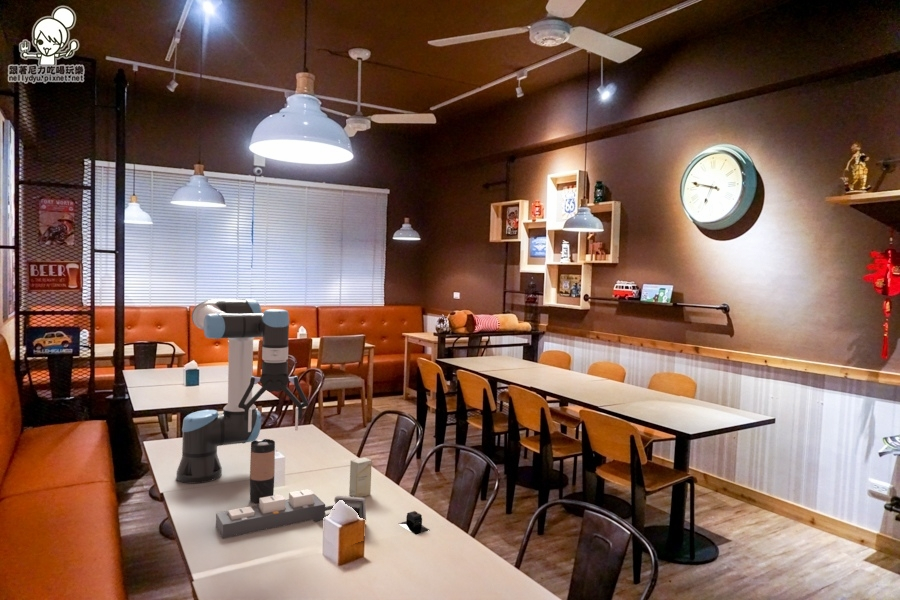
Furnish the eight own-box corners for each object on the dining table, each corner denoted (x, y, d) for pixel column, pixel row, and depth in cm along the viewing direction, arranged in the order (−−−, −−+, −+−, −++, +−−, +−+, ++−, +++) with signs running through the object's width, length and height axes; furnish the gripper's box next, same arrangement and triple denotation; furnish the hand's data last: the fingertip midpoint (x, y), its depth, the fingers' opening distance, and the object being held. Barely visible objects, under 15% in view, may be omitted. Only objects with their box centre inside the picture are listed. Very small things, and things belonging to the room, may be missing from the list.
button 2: (259, 514, 174) (259, 497, 174) (280, 510, 177) (280, 493, 177) (263, 519, 170) (263, 502, 170) (284, 515, 174) (285, 498, 173)
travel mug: (266, 508, 185) (267, 446, 184) (244, 505, 187) (245, 444, 186) (278, 499, 193) (279, 440, 192) (257, 496, 194) (258, 437, 193)
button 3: (288, 508, 179) (289, 492, 179) (308, 504, 182) (309, 488, 182) (293, 513, 175) (293, 497, 175) (313, 509, 179) (314, 493, 178)
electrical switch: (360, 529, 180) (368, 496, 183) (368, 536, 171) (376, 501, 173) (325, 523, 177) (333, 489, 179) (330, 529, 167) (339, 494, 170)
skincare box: (356, 498, 196) (357, 463, 195) (348, 494, 199) (349, 460, 198) (371, 494, 200) (372, 459, 200) (363, 490, 203) (364, 456, 203)
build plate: (435, 533, 174) (436, 518, 174) (416, 539, 169) (416, 524, 169) (411, 518, 183) (411, 504, 183) (392, 524, 179) (392, 509, 178)
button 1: (227, 527, 169) (228, 510, 169) (250, 522, 172) (250, 505, 172) (231, 533, 165) (231, 515, 165) (254, 528, 169) (254, 511, 169)
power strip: (215, 529, 169) (216, 512, 169) (330, 506, 189) (331, 490, 189) (222, 542, 162) (223, 523, 162) (341, 516, 181) (342, 500, 181)
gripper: (229, 362, 168) (228, 434, 169) (317, 362, 174) (315, 432, 176) (232, 358, 175) (230, 427, 176) (316, 358, 182) (314, 425, 183)
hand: (273, 430), depth 176 cm, fingers open, 13 cm apart
